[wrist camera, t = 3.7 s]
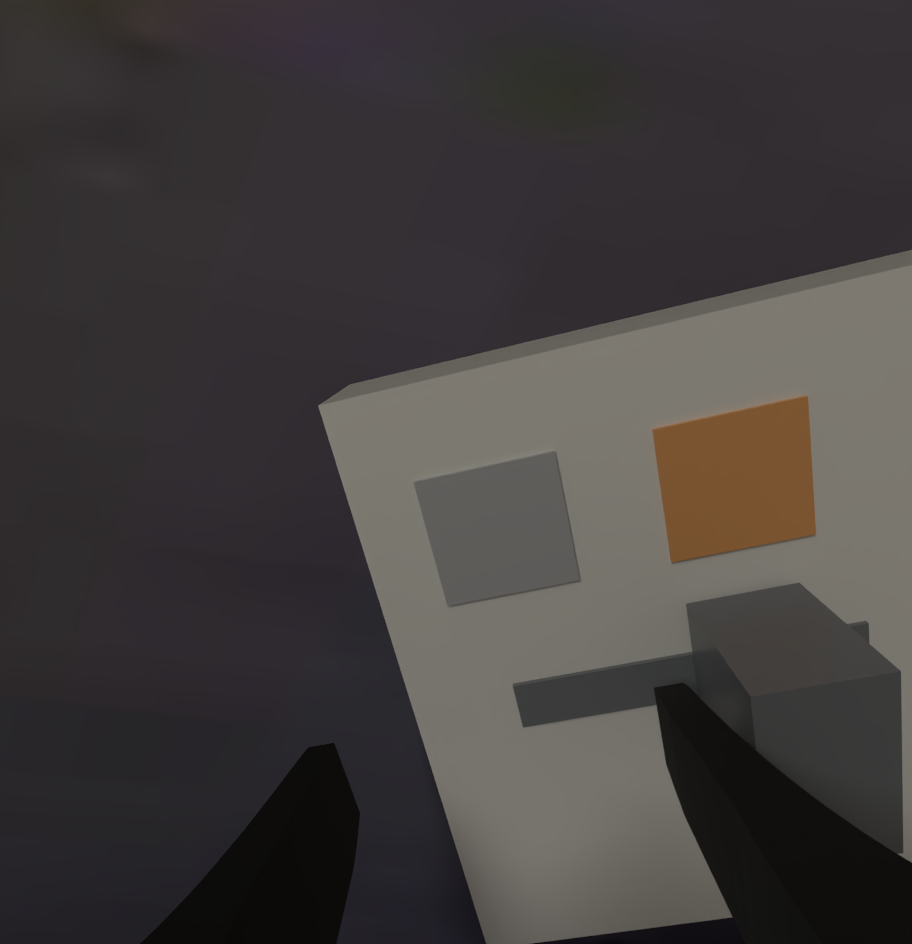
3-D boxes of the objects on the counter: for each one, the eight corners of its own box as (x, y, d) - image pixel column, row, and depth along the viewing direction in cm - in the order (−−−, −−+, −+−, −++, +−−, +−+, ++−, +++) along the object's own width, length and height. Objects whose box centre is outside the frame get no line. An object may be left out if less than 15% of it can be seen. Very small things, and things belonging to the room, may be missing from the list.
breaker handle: (809, 731, 13) (904, 853, 10) (705, 748, 13) (768, 871, 10) (799, 582, 12) (901, 671, 9) (685, 604, 12) (750, 697, 9)
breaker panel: (926, 784, 17) (1019, 883, 14) (485, 849, 19) (487, 953, 16) (928, 246, 13) (1063, 229, 10) (349, 384, 14) (317, 406, 11)
